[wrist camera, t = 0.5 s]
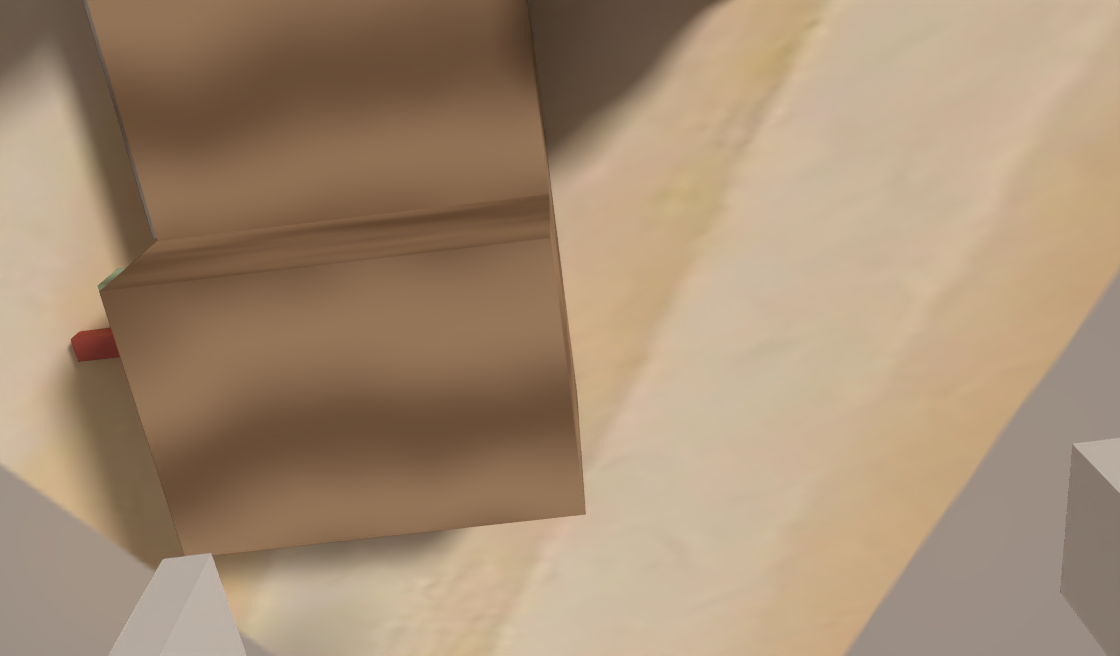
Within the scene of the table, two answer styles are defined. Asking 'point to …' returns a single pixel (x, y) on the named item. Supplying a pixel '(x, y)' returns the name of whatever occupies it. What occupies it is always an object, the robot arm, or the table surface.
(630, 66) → the table surface
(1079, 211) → the table surface
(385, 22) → the step stand
